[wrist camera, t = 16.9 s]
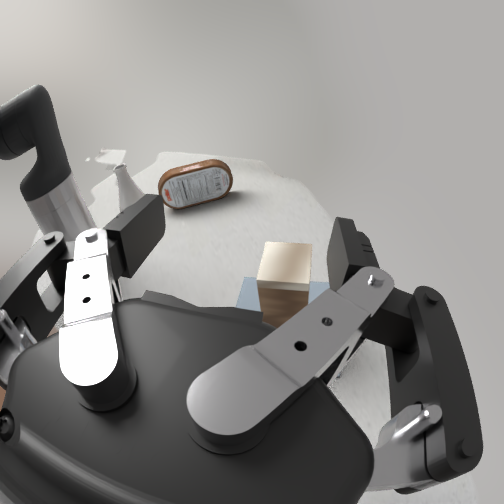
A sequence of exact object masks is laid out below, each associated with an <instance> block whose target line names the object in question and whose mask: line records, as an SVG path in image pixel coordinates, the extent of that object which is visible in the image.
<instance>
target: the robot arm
mask: <svg viewBox="0 0 504 504" xmlns="http://www.w3.org/2000/svg"><path fill="white" fill-rule="evenodd" d="M35 146H36V150H37V161H36V163H35V165H34V167H33V168H32V169H31V171H30V172H29V173H28V174H27V175H26V176H25V178H24V179H23V180H22V182H21V184H20V190H21V193H22V195H23V197H24V199H25V201H26V203H27V205H28V207H29V208H30V211H31V213H32V214H33V216H34V218H35V220H36V222H37V224H38V226H39V227H40V229H41V231H42V233H43V234H44V236H43V237H42V238H41V239H39V240H38V241H37V242H36V243H35V244H34V245H33V246H32V247H31V248H30V249H29V250H28V251H27V252H26V253H25V254H24V255H23V256H22V257H21V258H20V259H19V260H18V261H17V262H16V263H15V264H14V265H13V267H11V269H10V270H9V271H8V272H7V273H6V274H5V275H4V276H3V277H2V278H1V279H0V386H1V387H2V388H3V389H5V390H6V394H5V399H4V402H3V406H2V409H1V411H0V504H357V503H358V501H359V499H360V498H361V496H362V495H363V493H364V492H367V491H381V490H390V489H394V490H395V491H396V492H398V493H400V494H411V493H414V492H417V491H421V490H424V489H427V488H430V487H432V486H435V485H438V484H441V483H443V482H446V481H448V480H451V479H453V478H456V477H458V476H460V475H463V474H465V473H467V472H469V471H471V470H473V469H474V468H475V467H476V466H477V464H478V463H479V461H480V459H481V457H482V453H483V440H482V432H481V426H480V419H479V414H478V408H477V403H476V399H475V393H474V389H473V385H472V381H471V377H470V373H469V369H468V366H467V362H466V359H465V355H464V352H463V349H462V346H461V342H460V340H459V337H458V334H457V331H456V328H455V325H454V322H453V320H452V317H451V314H450V312H449V309H448V307H447V304H446V302H445V300H444V298H443V296H442V295H441V294H440V293H438V292H437V291H436V290H434V289H433V288H430V287H427V286H419V287H417V288H416V289H415V291H414V293H413V295H412V294H409V293H407V292H404V291H401V290H399V289H397V288H395V287H394V280H393V278H392V277H391V276H390V275H389V274H388V273H387V272H385V271H384V270H382V269H380V267H379V264H378V262H377V259H376V256H375V253H374V251H373V248H372V246H371V243H370V240H369V238H368V237H367V236H366V235H365V234H364V233H363V232H359V231H357V230H356V227H355V224H354V221H353V220H352V219H346V218H340V217H336V219H335V222H334V226H333V230H332V234H331V238H330V242H329V246H328V251H327V266H328V276H329V286H330V288H328V289H326V290H325V291H324V292H323V293H321V294H320V295H319V296H318V297H317V298H315V299H314V300H313V301H312V302H310V303H309V304H308V305H307V306H306V307H304V308H303V309H302V310H300V311H299V312H298V313H297V314H295V315H294V316H293V317H292V318H290V319H289V320H288V321H286V322H285V323H284V324H283V325H281V326H280V327H279V328H276V327H274V326H272V325H270V324H268V323H266V322H263V321H262V320H263V312H260V311H254V310H248V309H241V308H235V307H197V306H195V305H192V304H190V303H188V302H185V301H183V300H181V299H178V298H176V297H174V296H171V295H166V294H162V293H157V292H152V291H148V290H146V291H145V293H144V295H143V296H142V298H135V299H128V300H124V301H123V297H122V292H121V286H120V282H119V277H120V276H122V277H127V278H132V276H133V275H134V274H135V272H136V271H137V270H138V268H139V267H140V266H141V264H142V263H143V262H144V260H145V259H146V258H147V256H148V255H149V254H150V252H151V251H152V250H153V249H154V247H155V246H156V245H157V243H158V242H159V241H160V240H161V238H162V237H163V235H164V233H165V215H164V204H163V198H162V196H161V195H154V194H145V195H144V196H143V197H142V198H140V199H139V200H138V201H137V202H136V203H134V204H132V205H130V206H128V207H127V208H125V209H124V210H123V211H122V212H121V213H120V214H118V215H117V216H116V218H114V219H113V220H112V221H110V222H109V223H108V224H107V225H106V226H105V227H104V228H103V229H102V228H97V226H96V224H95V222H94V220H93V218H92V216H91V214H90V212H89V210H88V208H87V206H86V203H85V201H84V199H83V197H82V194H81V192H80V190H79V188H78V186H77V183H76V181H75V178H74V176H73V173H72V171H71V168H70V166H69V163H68V159H67V156H66V152H65V149H64V146H63V143H62V140H61V137H60V133H59V129H58V125H57V121H56V117H55V113H54V109H53V105H52V101H51V98H50V96H49V94H48V92H47V90H46V89H45V88H44V87H43V86H41V85H34V86H32V87H30V88H28V89H26V90H25V91H23V92H22V93H20V94H18V95H17V96H15V97H14V98H12V99H11V100H9V101H8V102H6V103H5V104H3V105H2V106H0V159H2V160H11V159H14V158H16V157H18V156H20V155H22V154H23V153H25V152H26V151H28V150H30V149H31V148H33V147H35ZM46 270H47V272H48V274H49V276H50V279H51V281H52V283H51V284H50V285H49V286H48V288H47V289H46V290H45V291H44V293H43V294H42V295H41V296H40V295H39V293H38V291H37V281H38V279H39V278H40V277H41V275H42V274H43V273H44V272H45V271H46ZM63 312H64V325H63V326H61V327H60V331H59V332H57V333H55V334H53V335H51V336H49V337H47V336H48V334H49V333H50V331H51V330H52V328H53V327H54V325H55V324H56V322H57V321H58V319H59V318H60V316H61V315H62V313H63ZM46 337H47V338H46ZM367 339H369V340H372V341H375V342H377V343H380V344H383V345H385V349H386V357H387V366H388V376H389V388H390V403H391V420H390V421H389V422H387V423H386V424H385V425H384V426H383V427H382V429H381V431H380V434H379V439H378V443H377V445H376V447H375V449H373V448H372V445H371V443H370V441H369V439H368V437H367V436H366V434H365V433H364V432H363V431H362V429H361V428H360V427H359V426H358V424H357V423H356V422H355V421H354V419H353V418H352V417H351V416H350V414H349V413H348V412H347V411H346V409H345V408H344V407H343V406H342V404H341V403H340V402H339V401H338V399H337V398H336V397H335V395H334V394H333V393H332V392H331V390H330V389H329V388H328V387H329V386H330V385H331V383H332V382H333V381H334V380H335V378H336V377H337V376H338V374H339V373H340V372H341V370H342V369H343V368H344V367H345V365H346V364H347V363H348V362H349V361H350V360H351V358H352V357H353V356H354V355H355V353H356V352H357V351H358V350H359V349H360V347H361V346H362V345H363V344H364V342H365V341H366V340H367Z"/></svg>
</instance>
